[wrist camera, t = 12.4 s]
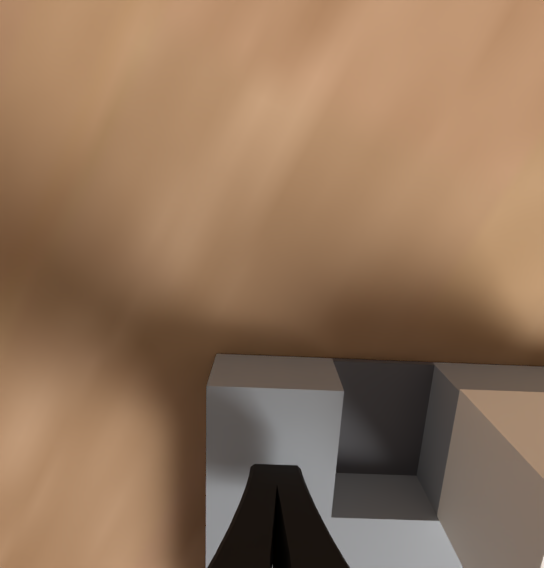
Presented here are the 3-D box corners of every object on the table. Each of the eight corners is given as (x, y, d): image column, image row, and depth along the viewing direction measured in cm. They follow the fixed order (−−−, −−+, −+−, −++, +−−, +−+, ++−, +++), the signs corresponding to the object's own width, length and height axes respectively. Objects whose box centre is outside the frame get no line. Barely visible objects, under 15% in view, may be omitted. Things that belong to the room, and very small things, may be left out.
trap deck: (213, 598, 16) (197, 717, 12) (216, 353, 13) (196, 416, 10) (685, 611, 16) (802, 731, 13) (782, 375, 14) (964, 444, 10)
